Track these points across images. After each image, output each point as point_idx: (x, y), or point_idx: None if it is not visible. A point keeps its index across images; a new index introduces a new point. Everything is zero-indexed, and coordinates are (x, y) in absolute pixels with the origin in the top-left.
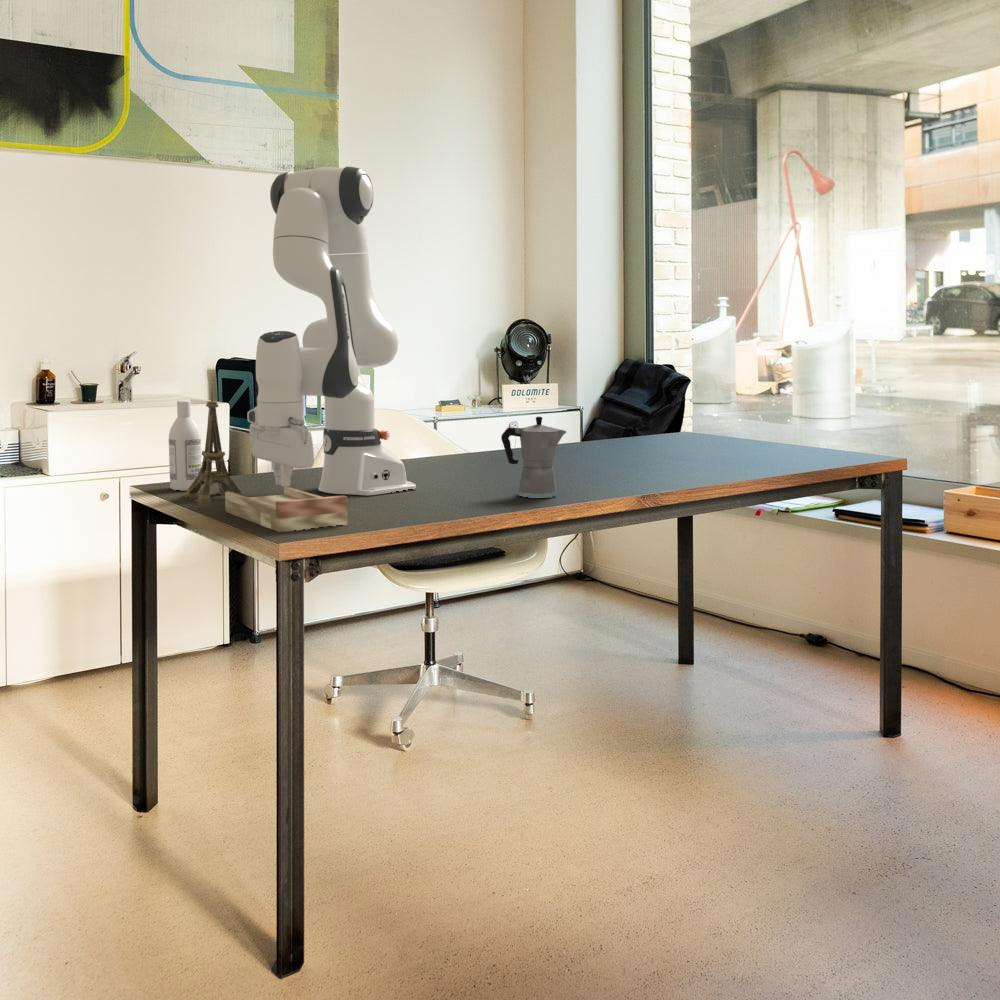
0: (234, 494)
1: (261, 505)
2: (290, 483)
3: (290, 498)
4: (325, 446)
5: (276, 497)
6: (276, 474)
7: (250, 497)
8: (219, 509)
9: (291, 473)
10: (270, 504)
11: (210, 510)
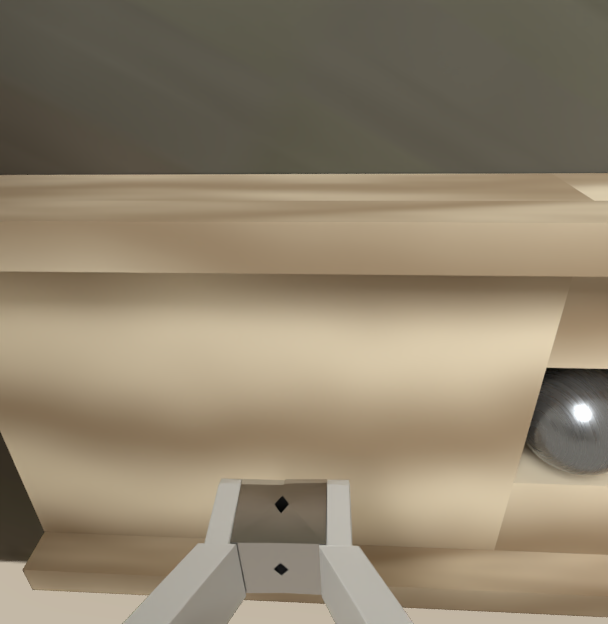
0: (130, 588)
1: (515, 607)
2: (347, 488)
3: (126, 284)
4: None
5: (52, 342)
6: (232, 609)
7: (14, 452)
8: (8, 493)
9: (387, 588)
10: (304, 464)
11: (26, 523)
